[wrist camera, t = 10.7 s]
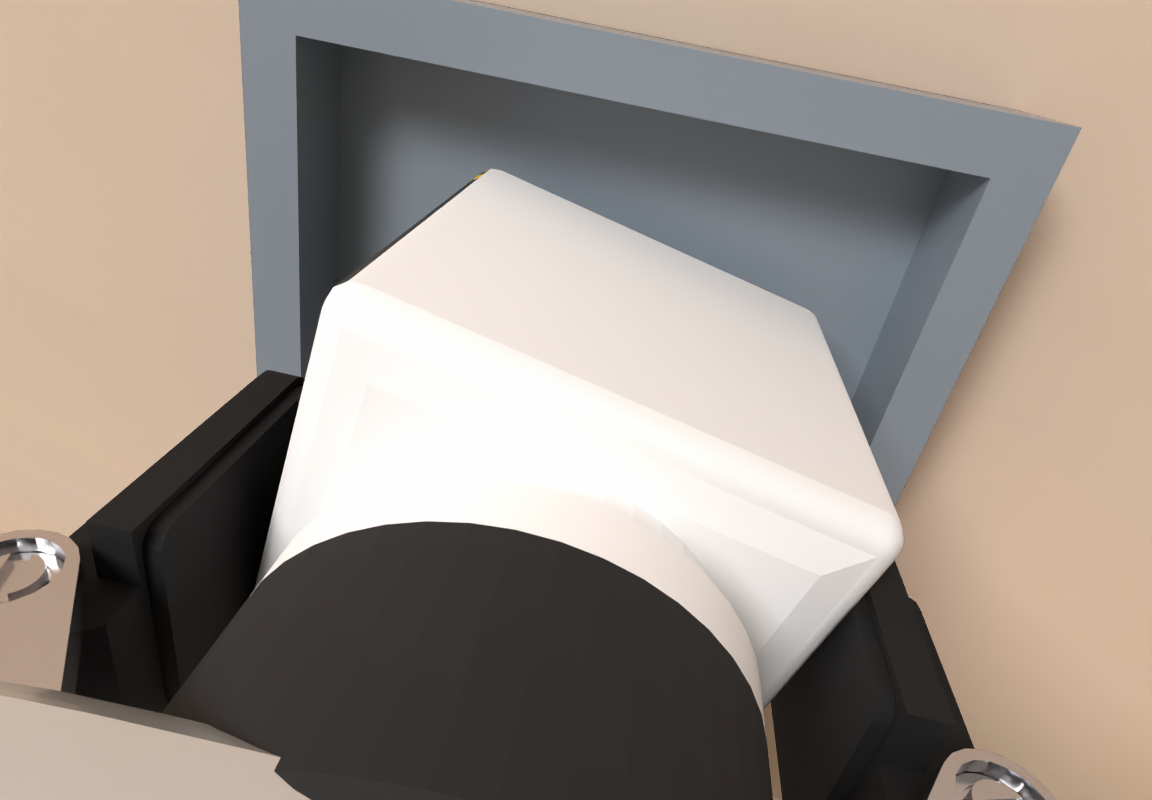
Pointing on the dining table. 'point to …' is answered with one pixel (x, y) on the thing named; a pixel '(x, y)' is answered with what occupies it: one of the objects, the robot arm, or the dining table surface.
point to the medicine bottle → (547, 521)
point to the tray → (644, 175)
